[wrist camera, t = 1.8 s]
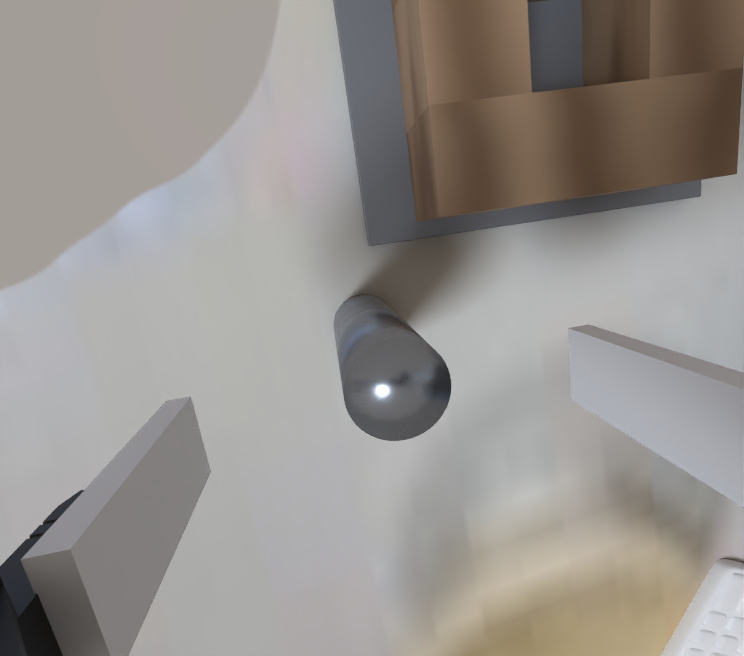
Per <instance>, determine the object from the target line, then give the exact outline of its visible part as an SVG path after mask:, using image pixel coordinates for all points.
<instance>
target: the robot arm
mask: <svg viewBox="0 0 744 656" xmlns="http://www.w3.org/2000/svg"><path fill="white" fill-rule="evenodd" d="M569 362H570V395H571V400H572V401H574V402H575V403H577V404H579V405H580V406H582V407H583V408H585V409H587V410H588V411H590V412H591V413H593V414H595V415H596V416H598V417H599V418H601V419H603V420H604V421H606V422H607V423H609V424H611V425H612V426H614V427H615V428H617V429H619V430H620V431H622V432H623V433H625V434H627V435H628V436H630V437H631V438H633V439H635V440H636V441H638V442H639V443H641V444H643V445H644V446H646V447H647V448H649V449H651V450H652V451H654V452H655V453H657V454H659V455H660V456H662V457H663V458H665V459H667V460H668V461H670V462H671V463H673V464H675V465H676V466H678V467H679V468H681V469H683V470H684V471H686V472H687V473H689V474H691V475H692V476H694V477H695V478H697V479H699V480H700V481H702V482H703V483H705V484H707V485H708V486H710V487H711V488H713V489H715V490H716V491H718V492H719V493H721V494H723V495H724V496H726V497H727V498H729V499H731V500H732V501H734V502H735V503H737V504H739V505H740V506H742V507H743V508H744V373H742V372H739V371H736V370H733V369H729V368H726V367H723V366H720V365H717V364H713V363H710V362H707V361H704V360H700V359H697V358H694V357H691V356H688V355H684V354H681V353H678V352H675V351H671V350H668V349H665V348H662V347H659V346H655V345H652V344H649V343H646V342H643V341H639V340H636V339H633V338H630V337H626V336H623V335H620V334H617V333H614V332H610V331H607V330H604V329H601V328H597V327H594V326H591V325H584V326H578V327H573V328H569ZM210 472H211V471H210V467H209V463H208V459H207V456H206V452H205V448H204V444H203V441H202V437H201V433H200V429H199V426H198V422H197V418H196V414H195V410H194V407H193V403H192V399H191V397H186V398H181V399H175V400H170V401H166V402H165V403H164V404H163V405H162V406H161V407H160V409H159V410H158V411H157V412H156V413H155V414H154V415H153V416H152V417H151V418H150V419H149V421H148V422H147V423H146V424H145V425H144V426H143V427H142V428H141V429H140V430H139V431H138V432H137V434H136V435H135V436H134V437H133V438H132V439H131V440H130V441H129V442H128V443H127V444H126V446H125V447H124V448H123V449H122V450H121V451H120V452H119V453H118V454H117V455H116V456H115V457H114V459H113V460H112V461H111V462H110V463H109V464H108V465H107V466H106V467H105V468H104V469H103V471H102V472H101V473H100V474H99V475H98V476H97V477H96V478H95V479H94V480H93V481H92V482H91V484H90V485H89V486H88V487H87V488H86V489H85V490H81V491H79V492H78V493H76V494H75V495H73V496H72V497H71V498H69V499H68V500H66V501H65V502H63V503H62V504H61V505H59V506H58V507H57V508H56V509H55V510H54V511H53V512H52V513H51V514H50V515H49V516H48V517H47V518H46V519H45V520H44V522H43V525H40V526H39V527H38V528H37V529H36V530H35V531H34V532H33V533H32V534H31V535H30V539H26V540H25V541H24V542H23V543H22V544H21V545H20V546H19V547H18V549H17V550H16V551H15V552H14V553H13V554H12V555H11V556H10V557H9V558H8V559H7V560H6V561H5V562H4V563H3V564H2V565H1V566H0V656H128V655H129V653H130V651H131V648H132V646H133V644H134V642H135V639H136V637H137V635H138V633H139V631H140V628H141V626H142V624H143V622H144V619H145V617H146V615H147V613H148V611H149V608H150V606H151V604H152V602H153V599H154V597H155V595H156V593H157V590H158V588H159V586H160V584H161V582H162V579H163V577H164V575H165V573H166V570H167V568H168V566H169V564H170V561H171V559H172V557H173V555H174V553H175V550H176V548H177V546H178V544H179V541H180V539H181V537H182V535H183V532H184V530H185V528H186V526H187V524H188V521H189V519H190V517H191V515H192V512H193V510H194V508H195V506H196V503H197V501H198V499H199V497H200V495H201V492H202V490H203V488H204V486H205V483H206V481H207V479H208V477H209V475H210Z"/></svg>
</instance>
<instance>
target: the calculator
mask: <svg viewBox="0 0 744 656" xmlns="http://www.w3.org/2000/svg"><path fill="white" fill-rule="evenodd" d="M714 605H715V606H714ZM661 656H744V563H741V562H737V561H733V560H729V559H721V560H718V561H717V562H715V564H714V565H713V566H712V567H711V569H710V571H709V572H708V574H707V575H706V577H705V579H704V581H703V582H702V584H701V586H700V588H699V589H698V591H697V593H696V595H695V596H694V598H693V600H692V602H691V603H690V605H689V607H688V609H687V610H686V612H685V614H684V615H683V617H682V619H681V621H680V622H679V624H678V626H677V628H676V629H675V631H674V633H673V635H672V636H671V638H670V640H669V642H668V643H667V645H666V647H665V649H664V650H663V652H662V654H661Z"/></svg>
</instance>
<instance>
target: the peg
mask: <svg viewBox="0 0 744 656" xmlns="http://www.w3.org/2000/svg"><path fill="white" fill-rule="evenodd" d="M334 333H335V339H336V346H337V353H338V360H339V367H340V374H341V381H342V387H343V394H344V401H345V405H346V408H347V411H348V413H349V415H350V417H351V418H352V420H353V421H354V422H355V424H356V425H357V426H358V427H359V428H360V429H362V430H363V431H364V432H366V433H367V434H369V435H371V436H373V437H376V438H379V439H383V440H389V441H399V440H406V439H410V438H413V437H416V436H418V435H420V434H422V433H424V432H425V431H427V430H428V429H430V428H431V427H432V426H433V425H434V424H435V423H436V422H437V421H438V420H439V419H440V417H441V416H442V414H443V413H444V411H445V409H446V407H447V405H448V402H449V398H450V394H451V379H450V374H449V371H448V368H447V366H446V364H445V362H444V360H443V359H442V357H441V356H440V355H439V354H438V353H437V352H436V351H435V350H434V349H433V348H432V347H431V346H430V345H429V344H428V343H427V342H426V341H425V340H424V339H423V338H422V337H421V336H420V335H419V334H418V333H417V332H415V331H414V330H413V329H412V328H411V327H410V326H409V325H408V324H407V323H406V322H405V321H404V320H403V319H402V318H401V317H400V316H399V315H398V314H397V313H396V312H394V311H393V310H392V309H391V308H390V307H389V306H388V305H387V304H386V303H385V302H384V301H383V300H381V299H379V298H377V297H375V296H372V295H358V296H354V297H352V298H350V299H348V300H347V301H345V302H344V303H343V304H342V305H341V306H340V307H339V309H338V311H337V313H336V315H335V318H334Z"/></svg>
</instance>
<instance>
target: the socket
mask: <svg viewBox="0 0 744 656" xmlns="http://www.w3.org/2000/svg"><path fill="white" fill-rule="evenodd" d="M333 2H334V9H335V16H336V23H337V30H338V37H339V44H340V51H341V58H342V65H343V72H344V79H345V86H346V93H347V100H348V107H349V114H350V121H351V128H352V135H353V142H354V149H355V156H356V163H357V170H358V177H359V184H360V191H361V198H362V205H363V212H364V219H365V226H366V233H367V240H368V246H373V245H380V244H386V243H393V242H400V241H406V240H413V239H420V238H426V237H433V236H440V235H446V234H453V233H460V232H466V231H473V230H480V229H486V228H493V227H500V226H506V225H513V224H520V223H526V222H533V221H540V220H546V219H553V218H560V217H566V216H573V215H580V214H586V213H593V212H600V211H606V210H613V209H620V208H626V207H633V206H640V205H646V204H653V203H660V202H666V201H673V200H680V199H686V198H693V197H700V196H701V180H702V179H708V178H714V177H720V176H726V175H732V174H737V160H738V142H739V125H740V107H741V90H742V73H743V55H744V0H333Z"/></svg>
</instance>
